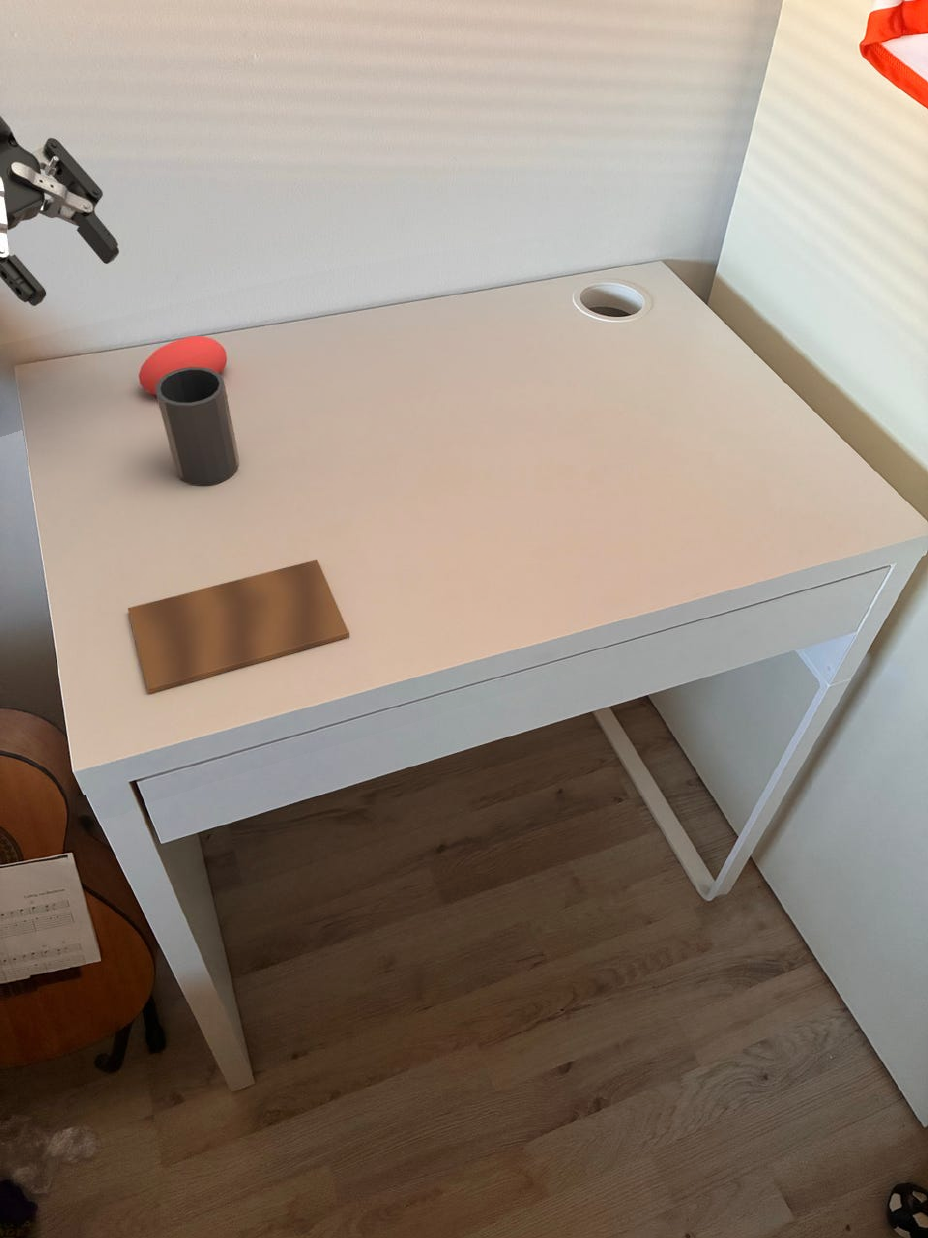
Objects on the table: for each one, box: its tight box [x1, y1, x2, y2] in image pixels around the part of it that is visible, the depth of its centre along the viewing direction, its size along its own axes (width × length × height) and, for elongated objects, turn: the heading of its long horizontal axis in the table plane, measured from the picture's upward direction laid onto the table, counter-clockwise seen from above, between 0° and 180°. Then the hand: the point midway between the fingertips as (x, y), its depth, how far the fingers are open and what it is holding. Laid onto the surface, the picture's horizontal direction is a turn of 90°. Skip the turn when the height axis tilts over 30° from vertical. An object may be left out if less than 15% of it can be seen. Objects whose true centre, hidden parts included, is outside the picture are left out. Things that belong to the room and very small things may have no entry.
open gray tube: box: [155, 367, 240, 487], centre depth 88 cm, size 6×6×9 cm
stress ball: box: [138, 335, 228, 396], centre depth 98 cm, size 5×9×6 cm, turn 118°
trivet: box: [127, 559, 350, 695], centre depth 77 cm, size 16×9×1 cm, turn 112°
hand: (78, 278), depth 82 cm, fingers open, 8 cm apart
